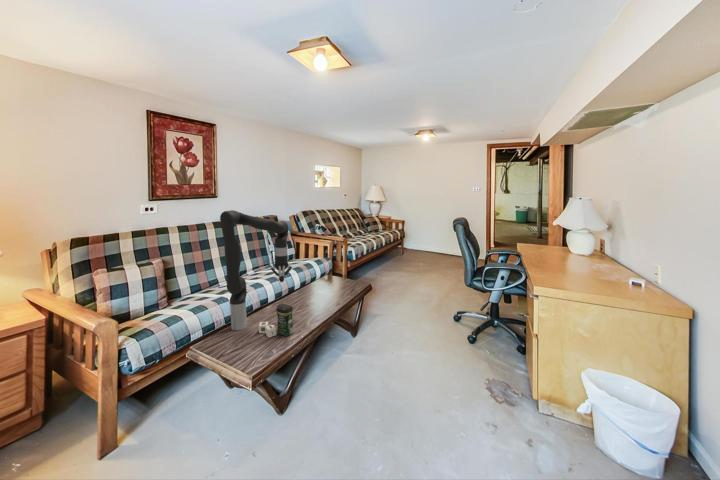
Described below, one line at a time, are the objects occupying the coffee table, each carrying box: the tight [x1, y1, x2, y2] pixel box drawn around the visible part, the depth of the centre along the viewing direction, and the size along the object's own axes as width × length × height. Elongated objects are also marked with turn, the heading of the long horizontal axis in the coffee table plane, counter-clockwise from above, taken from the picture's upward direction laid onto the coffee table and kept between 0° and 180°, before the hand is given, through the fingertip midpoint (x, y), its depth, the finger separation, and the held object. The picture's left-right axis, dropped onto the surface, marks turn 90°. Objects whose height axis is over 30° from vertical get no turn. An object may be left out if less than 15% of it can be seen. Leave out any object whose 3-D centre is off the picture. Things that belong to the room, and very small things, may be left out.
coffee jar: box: [276, 303, 294, 337], centre depth 179 cm, size 10×8×19 cm
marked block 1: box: [258, 321, 270, 334], centre depth 183 cm, size 5×5×5 cm
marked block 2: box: [265, 324, 277, 338], centre depth 178 cm, size 5×6×5 cm
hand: (281, 281), depth 178 cm, fingers closed
